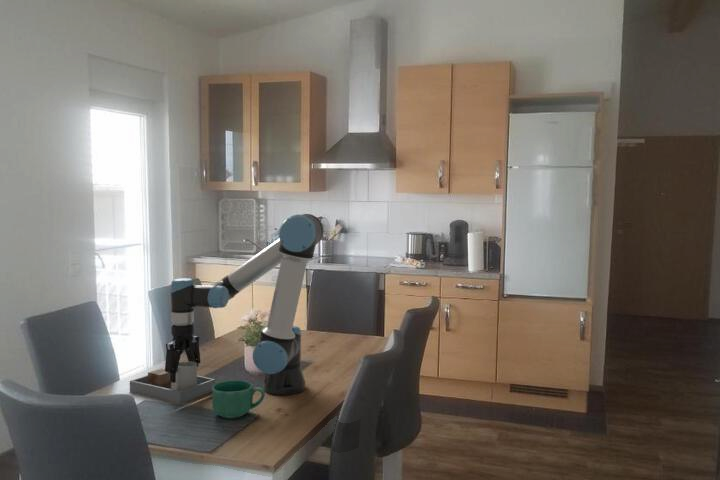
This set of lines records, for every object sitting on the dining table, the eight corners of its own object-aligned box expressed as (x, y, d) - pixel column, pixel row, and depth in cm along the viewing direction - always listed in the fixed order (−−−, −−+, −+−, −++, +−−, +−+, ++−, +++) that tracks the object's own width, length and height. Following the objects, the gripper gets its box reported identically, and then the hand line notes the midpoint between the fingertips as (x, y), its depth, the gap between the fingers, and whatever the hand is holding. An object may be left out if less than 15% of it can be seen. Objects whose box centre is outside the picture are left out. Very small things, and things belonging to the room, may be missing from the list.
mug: (207, 421, 192) (207, 391, 192) (217, 407, 205) (217, 379, 204) (260, 422, 192) (260, 392, 191) (267, 408, 204) (267, 380, 204)
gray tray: (215, 391, 221) (215, 379, 221) (180, 405, 206) (179, 392, 206) (166, 380, 232) (166, 369, 232) (129, 393, 218) (129, 380, 217)
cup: (190, 393, 212) (189, 367, 211) (164, 390, 214) (163, 365, 213) (200, 387, 219) (200, 362, 218) (175, 384, 221) (175, 359, 220)
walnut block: (173, 387, 223) (172, 370, 223) (160, 391, 218) (160, 375, 218) (161, 384, 226) (160, 368, 226) (148, 388, 221) (147, 372, 220)
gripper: (195, 317, 225) (196, 378, 227) (152, 327, 208) (153, 394, 210) (211, 319, 222) (211, 382, 224) (168, 329, 204) (169, 397, 206)
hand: (183, 387), depth 217 cm, fingers closed on cup, 7 cm apart
